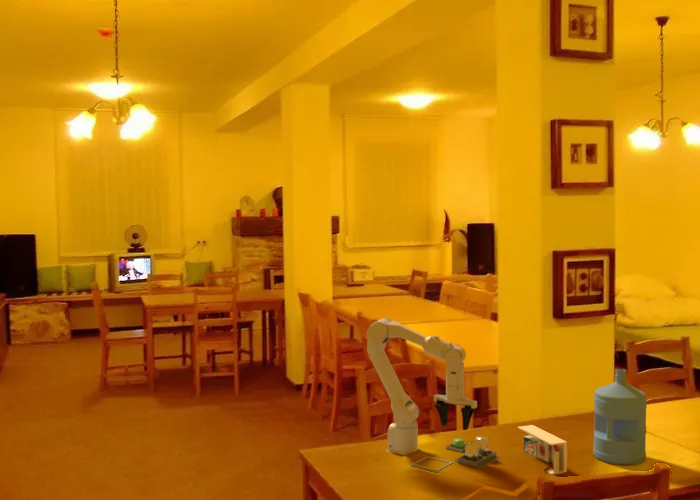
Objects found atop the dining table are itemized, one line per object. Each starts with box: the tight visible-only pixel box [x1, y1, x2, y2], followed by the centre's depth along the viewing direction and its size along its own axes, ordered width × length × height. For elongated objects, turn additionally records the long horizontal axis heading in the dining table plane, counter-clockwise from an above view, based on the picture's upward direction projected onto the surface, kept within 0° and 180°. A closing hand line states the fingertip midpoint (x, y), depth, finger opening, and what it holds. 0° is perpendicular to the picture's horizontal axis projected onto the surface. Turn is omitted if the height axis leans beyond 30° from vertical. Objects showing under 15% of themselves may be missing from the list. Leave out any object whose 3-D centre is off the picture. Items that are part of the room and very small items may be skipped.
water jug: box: [592, 368, 648, 466], centre depth 234 cm, size 16×16×28 cm
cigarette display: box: [517, 424, 568, 476], centre depth 229 cm, size 20×6×9 cm, turn 19°
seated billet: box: [475, 435, 490, 456], centre depth 232 cm, size 4×4×6 cm
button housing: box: [445, 442, 465, 453], centre depth 241 cm, size 6×6×2 cm
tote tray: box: [410, 455, 454, 474], centre depth 226 cm, size 9×9×1 cm
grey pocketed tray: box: [452, 450, 502, 469], centre depth 230 cm, size 10×13×3 cm
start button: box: [452, 438, 465, 449], centre depth 241 cm, size 4×4×3 cm
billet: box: [464, 440, 479, 462], centre depth 227 cm, size 4×4×6 cm
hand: (454, 427), depth 234 cm, fingers open, 7 cm apart
